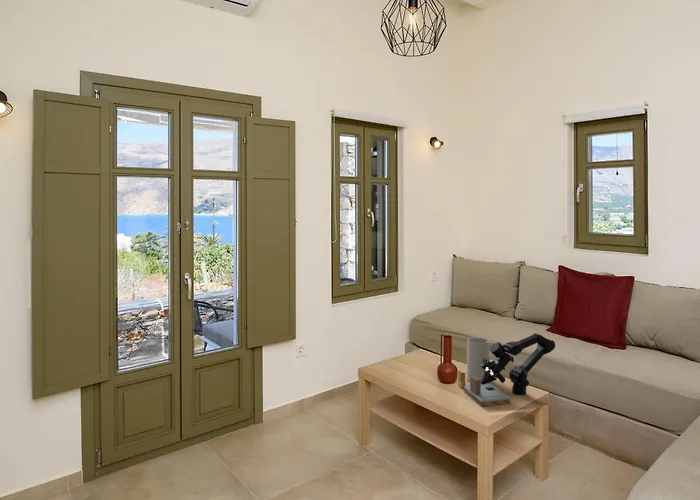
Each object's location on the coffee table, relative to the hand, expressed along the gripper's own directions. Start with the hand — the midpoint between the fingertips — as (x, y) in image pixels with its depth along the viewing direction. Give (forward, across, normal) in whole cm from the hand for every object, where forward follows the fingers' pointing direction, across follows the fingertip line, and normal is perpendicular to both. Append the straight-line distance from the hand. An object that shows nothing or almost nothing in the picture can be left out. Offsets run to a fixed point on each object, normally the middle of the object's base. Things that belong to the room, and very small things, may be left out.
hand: (481, 384), depth 256 cm
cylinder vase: (-2, -26, +14) cm, 30 cm away
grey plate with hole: (+2, 0, +6) cm, 6 cm away
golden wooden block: (+8, -18, +4) cm, 20 cm away
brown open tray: (+4, 0, +8) cm, 9 cm away
